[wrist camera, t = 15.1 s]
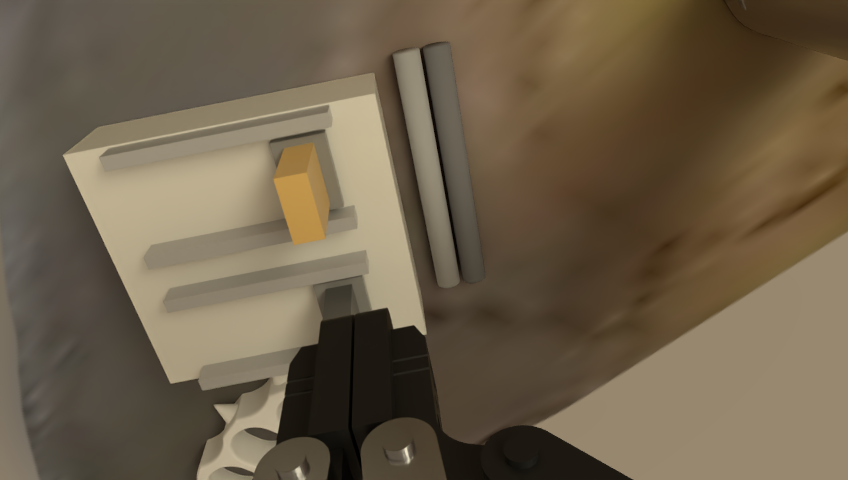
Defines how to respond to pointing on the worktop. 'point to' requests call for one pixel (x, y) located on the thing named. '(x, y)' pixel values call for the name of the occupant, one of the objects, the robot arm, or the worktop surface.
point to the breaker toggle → (306, 184)
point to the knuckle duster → (243, 432)
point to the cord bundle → (452, 158)
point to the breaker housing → (245, 226)
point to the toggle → (342, 297)
